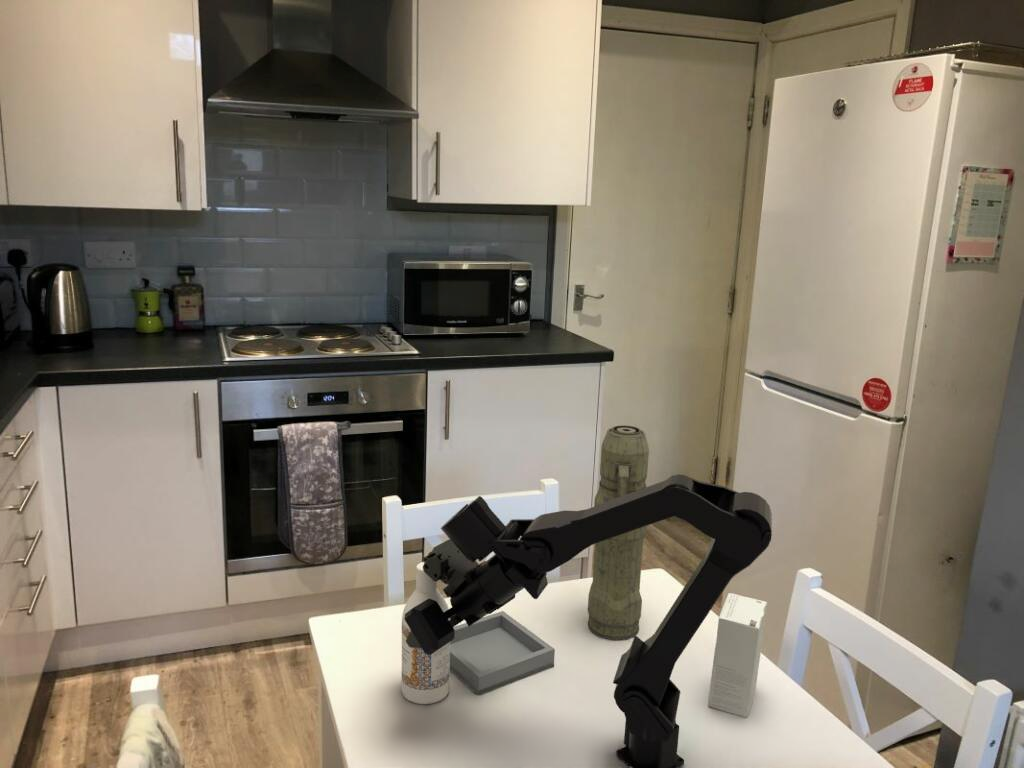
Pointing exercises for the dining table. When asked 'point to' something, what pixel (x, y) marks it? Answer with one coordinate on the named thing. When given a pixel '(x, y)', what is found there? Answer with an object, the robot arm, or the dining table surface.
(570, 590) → the dining table surface
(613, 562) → the thermos
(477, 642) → the grey square tray
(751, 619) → the skincare box
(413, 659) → the bath foam
